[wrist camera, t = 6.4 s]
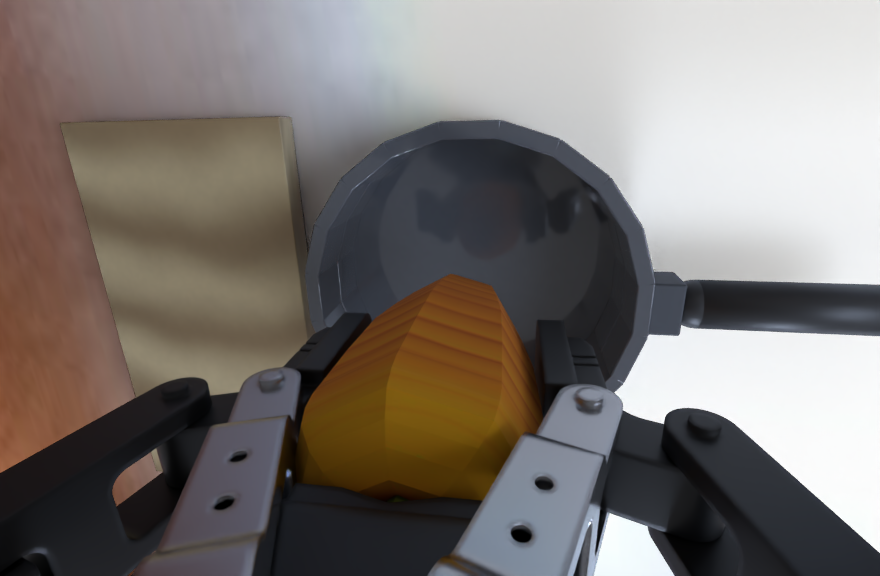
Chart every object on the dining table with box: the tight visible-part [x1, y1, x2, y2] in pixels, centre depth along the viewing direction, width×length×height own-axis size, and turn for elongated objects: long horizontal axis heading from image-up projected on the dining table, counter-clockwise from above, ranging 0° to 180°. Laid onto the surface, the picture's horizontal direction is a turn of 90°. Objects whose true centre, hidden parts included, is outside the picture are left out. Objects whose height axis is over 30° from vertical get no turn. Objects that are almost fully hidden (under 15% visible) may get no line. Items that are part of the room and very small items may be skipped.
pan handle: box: [649, 272, 880, 336], centre depth 17 cm, size 11×2×2 cm, turn 91°
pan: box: [305, 120, 656, 393], centre depth 20 cm, size 13×13×4 cm
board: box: [60, 116, 315, 472], centre depth 24 cm, size 20×11×1 cm, turn 1°
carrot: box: [295, 274, 543, 502], centre depth 11 cm, size 5×5×15 cm
